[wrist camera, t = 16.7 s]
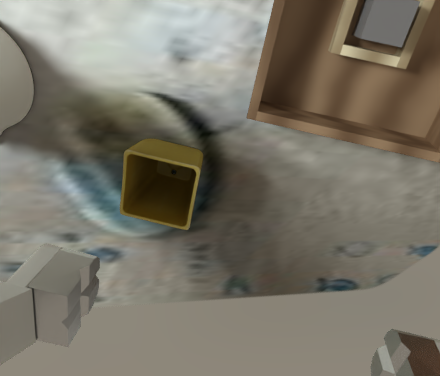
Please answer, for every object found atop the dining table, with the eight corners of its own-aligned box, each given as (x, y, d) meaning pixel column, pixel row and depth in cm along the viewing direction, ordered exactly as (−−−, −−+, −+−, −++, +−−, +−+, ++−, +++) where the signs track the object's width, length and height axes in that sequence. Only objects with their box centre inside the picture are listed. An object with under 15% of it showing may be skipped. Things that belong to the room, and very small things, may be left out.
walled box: (249, 104, 45) (246, 118, 39) (309, -149, 33) (315, -177, 28) (426, 144, 44) (446, 164, 39) (548, -100, 33) (600, -119, 27)
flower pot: (201, 196, 52) (188, 232, 44) (142, 182, 52) (118, 214, 44) (213, 139, 47) (201, 167, 40) (148, 124, 48) (123, 148, 40)
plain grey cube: (352, 34, 39) (360, 38, 35) (366, -7, 37) (376, -8, 33) (388, 42, 39) (401, 47, 35) (404, 1, 37) (420, 1, 33)
